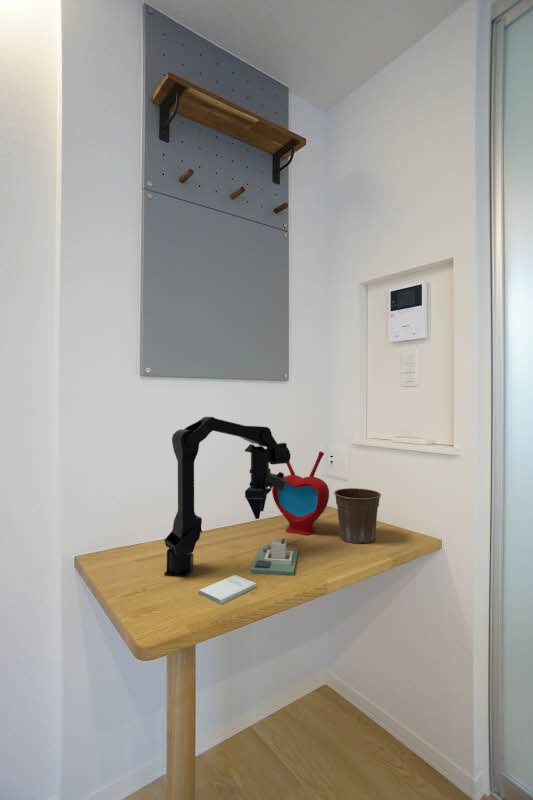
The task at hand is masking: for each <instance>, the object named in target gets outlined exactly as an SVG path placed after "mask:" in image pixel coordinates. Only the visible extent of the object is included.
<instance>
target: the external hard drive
mask: <svg viewBox="0 0 533 800" xmlns="http://www.w3.org/2000/svg"><path fill="white" fill-rule="evenodd" d="M253 588H254V589H255V588H257V583H256V582H254V581H251V580H249V579H246V578H244V577H241V576H239V575H236V574H235V575H231V576H229V577H227V578H225V579H223V580H220V581H217V582H214V583H212V584H211V585H208V586H205V587H203V588H201V589H198V590H197V593H198V595H199V594H200V595H199V596H201V595H202V596H201V597H203V596H204V598H205V597H206V599H208V600H210V601H211V602H214V603H216V604H219V605H220V604H221V605H223V604H225V603H227V602H229V601H231V600H234V599H235V598H237V597H239V596H241V595H243V594H245V593H247V592H250V591H251V589H252V590H253Z"/></svg>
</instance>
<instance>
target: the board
mask: <svg viewBox="0 0 533 800" xmlns="http://www.w3.org/2000/svg"><path fill="white" fill-rule="evenodd" d="M271 546H272V545H270V544H264V545H262V547H259V550H258V552H257V554H256V556H255V558H254V561H253V564H252V565H251V568H250V574H258V575H274V574H275V575H276V574H277V575H276V576H291V575H292V576H295V569H296V563H297V558H298V552H299V551H298V549H296V548H295V549H294V548H286V559H271ZM292 576H291V577H292Z"/></svg>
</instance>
